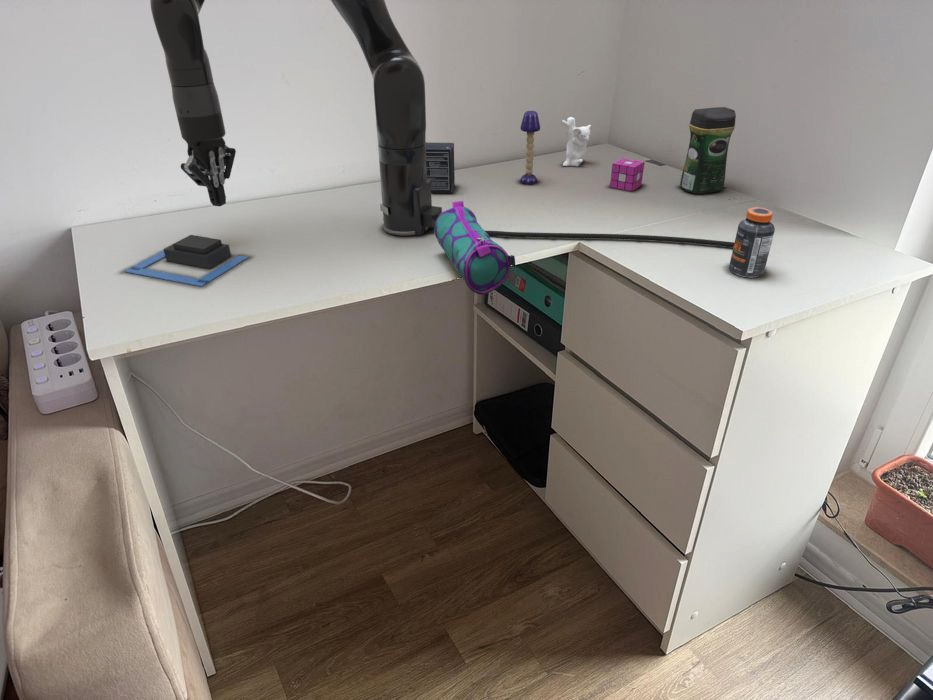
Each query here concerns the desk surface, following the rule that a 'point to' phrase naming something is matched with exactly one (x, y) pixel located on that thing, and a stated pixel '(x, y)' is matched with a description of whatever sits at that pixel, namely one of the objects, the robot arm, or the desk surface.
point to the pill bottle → (752, 243)
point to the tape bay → (177, 278)
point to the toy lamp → (529, 144)
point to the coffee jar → (708, 149)
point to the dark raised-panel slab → (198, 251)
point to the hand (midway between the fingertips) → (219, 204)
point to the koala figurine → (576, 142)
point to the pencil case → (472, 249)
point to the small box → (440, 167)
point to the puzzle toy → (627, 174)
